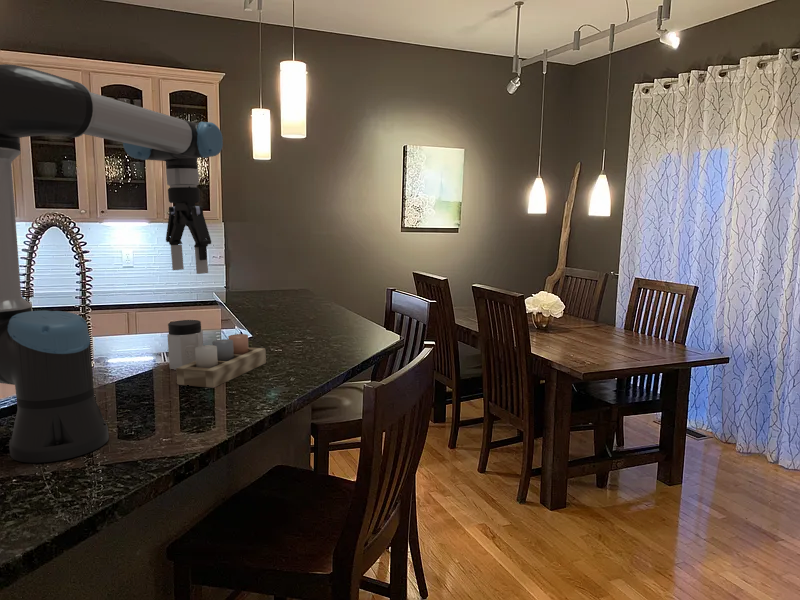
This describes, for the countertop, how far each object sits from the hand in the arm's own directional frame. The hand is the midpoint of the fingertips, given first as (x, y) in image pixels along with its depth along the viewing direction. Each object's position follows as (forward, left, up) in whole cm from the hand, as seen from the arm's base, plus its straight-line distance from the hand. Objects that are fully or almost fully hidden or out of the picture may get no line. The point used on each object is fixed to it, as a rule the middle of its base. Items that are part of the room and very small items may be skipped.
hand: (189, 271), depth 154 cm
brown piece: (+5, -10, -22) cm, 25 cm away
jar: (+1, +4, -26) cm, 26 cm away
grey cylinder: (-2, -10, -22) cm, 24 cm away
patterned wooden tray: (-2, -10, -26) cm, 27 cm away
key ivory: (-9, -10, -22) cm, 26 cm away
